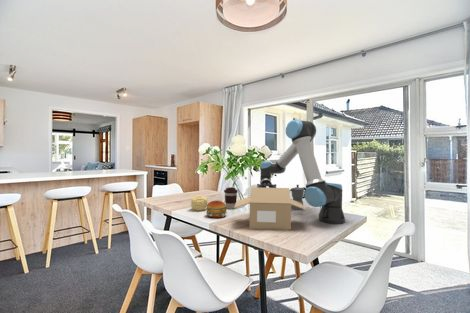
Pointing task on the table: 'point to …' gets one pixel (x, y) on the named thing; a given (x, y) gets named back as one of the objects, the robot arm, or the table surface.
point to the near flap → (270, 195)
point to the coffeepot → (297, 196)
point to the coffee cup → (230, 197)
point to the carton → (269, 214)
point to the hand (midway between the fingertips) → (267, 189)
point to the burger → (216, 209)
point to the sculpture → (199, 203)
